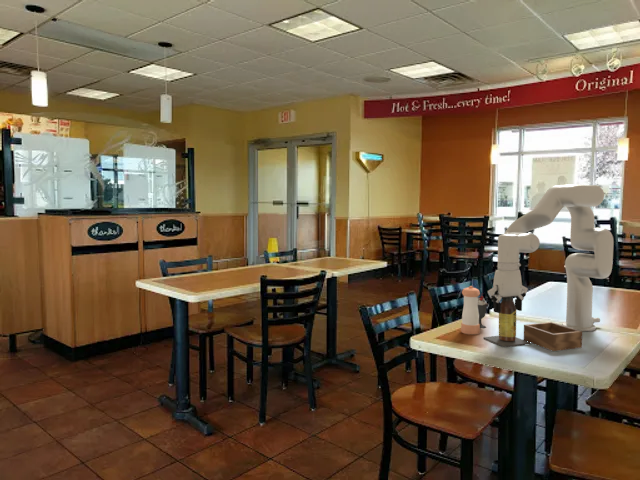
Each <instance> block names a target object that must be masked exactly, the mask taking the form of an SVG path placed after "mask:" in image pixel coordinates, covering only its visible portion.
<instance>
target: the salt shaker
mask: <svg viewBox="0 0 640 480" xmlns="http://www.w3.org/2000/svg"><path fill="white" fill-rule="evenodd" d="M461 293H462V296H463V308H462V315H461V323H460V331H461V333H463V334H465V335H479V334H480V333H481V332H480V330H481V328H480V325H479V312H478V297H480V296H481V293H480V290H479V289H478V288H476V287H474V286H473V285H470V286H468V287H464V288H463V289H462V290H461Z"/></svg>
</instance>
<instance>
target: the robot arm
mask: <svg viewBox="0 0 640 480" xmlns="http://www.w3.org/2000/svg"><path fill="white" fill-rule="evenodd" d="M604 199H605V192H604V189H602V187H601V186H599V185H598V184H597V185H596V184H589V185H588V184H587V185H586V184H560V185H554V186H551V187H549V188H548V189H547V191H546V192H545V193H544V194H543V195H542V197H541V198H540V200H539V201H538V202H537V204H536V205H535V206H534V207H533V209H532V210H531V211H529V212H527V213H525V214H523V215H522V216H520V217H518V218H516V220H514V221H513V222H511V224H510V225H509V226H508V227H507V229H506V230H505V232H504V233H502V234H500V235H498V237H497V269H495V271H494V277H493V285H492V286H493V287H492V288H490V289H489V290H487V294H488V297H489V298H490V299H491V302H493V305H492V306H493V307H492V308H493V312H494V313H496V314H499V313H500V307H501V302H500V301H501V300H502V298H503V297H513V298H515V299H514V304H515V307H516V311H519V312H522V310H523V301H524V299H525V297H526V295H527V292H528V290H529V289H528V287H526V286H524V285H523V282H522V275H521V270H520V267H521V266H522V264H521V263H520V253H525V254H527V253H529V254H530V253H533V252H536V251H537V250H538V249H539V247H540V243H541V242H540V239H539V236H537V235H535V234H533V233H531V231H532V230H536V229H539V228H543V227H546V226H548V225H550V224H552V223H553V222H554V220H555V219H556V218H557V216H558V214H559V213H560V212H561V211H562V210H563V208H566V209H567V211H568V212H569V215H570V237H569V239H570V245H571V247H572V248H573V249H575V250H579V251H588V252H589V251H590V252H594V254H591V253H583V252H575V253H571V254H569V255H568V256H567V257H566V259H565V261H564V267H565V272H566V283H567V284H566V312H565V314H566V317H565V321H564V322H562V323H561V325H563V326H566V327H569V328H572V329H576V330H579V331H582V332H592V331H595V330H596V325H594V324H596V323H600V322H601V319H600V318H599V317H593V296H594V295H593V293H594V287H593V284H592V283H593V282H592V281H591V280H590V278H593V279H600V280H603V279H607V278H609V276H610V275H611V273H612V271H613V270H612V269H613V262H614V260H613V259H614V236H613V234H612V232H611V231H610V230H609V229H607V228H603V227H595V213H594V211H593V209H592V208H593V207H598V206H599V205H601V204H602V203H603V201H604ZM529 232H530V233H529Z"/></svg>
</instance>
